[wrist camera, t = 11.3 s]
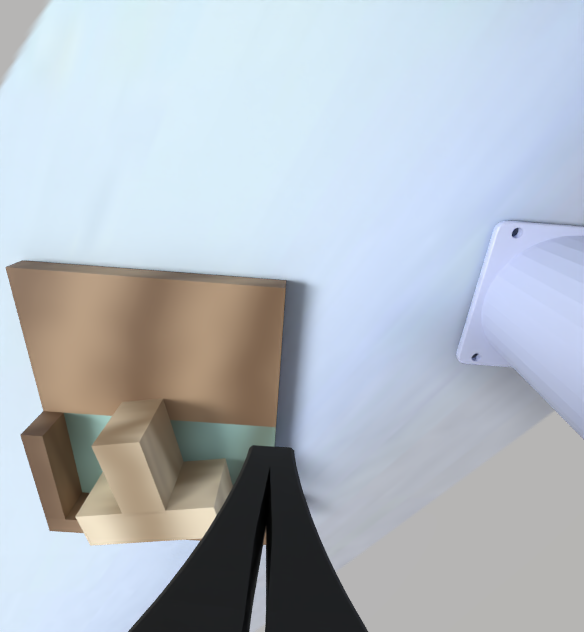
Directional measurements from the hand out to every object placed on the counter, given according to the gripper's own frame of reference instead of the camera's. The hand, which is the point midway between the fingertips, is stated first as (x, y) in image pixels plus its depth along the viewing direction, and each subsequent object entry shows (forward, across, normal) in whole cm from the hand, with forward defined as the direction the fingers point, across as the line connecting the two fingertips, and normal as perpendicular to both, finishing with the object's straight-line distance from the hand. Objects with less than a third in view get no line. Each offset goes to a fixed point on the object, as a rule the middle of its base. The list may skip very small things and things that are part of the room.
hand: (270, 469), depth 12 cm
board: (+10, +7, +6) cm, 13 cm away
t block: (+9, +7, +8) cm, 14 cm away
